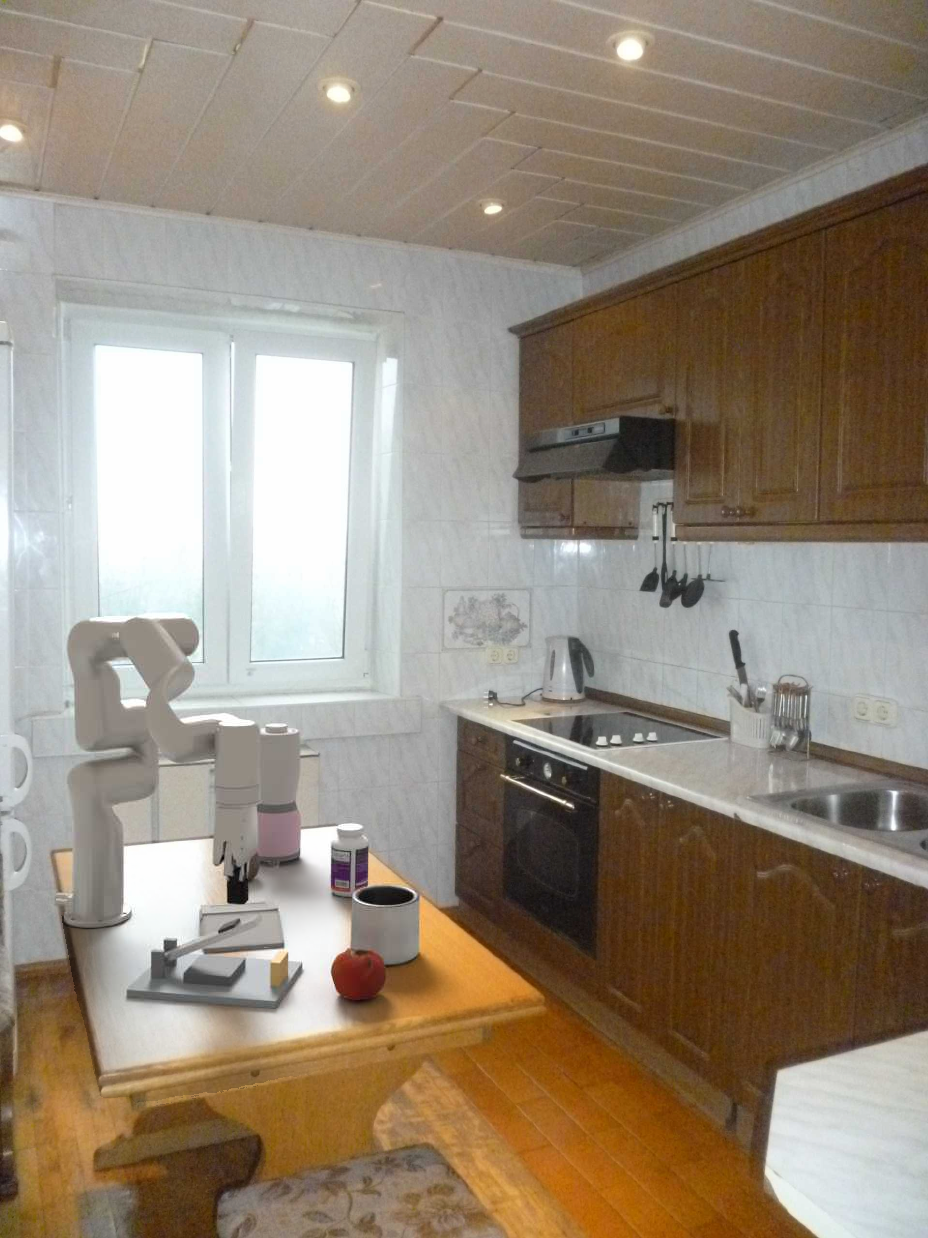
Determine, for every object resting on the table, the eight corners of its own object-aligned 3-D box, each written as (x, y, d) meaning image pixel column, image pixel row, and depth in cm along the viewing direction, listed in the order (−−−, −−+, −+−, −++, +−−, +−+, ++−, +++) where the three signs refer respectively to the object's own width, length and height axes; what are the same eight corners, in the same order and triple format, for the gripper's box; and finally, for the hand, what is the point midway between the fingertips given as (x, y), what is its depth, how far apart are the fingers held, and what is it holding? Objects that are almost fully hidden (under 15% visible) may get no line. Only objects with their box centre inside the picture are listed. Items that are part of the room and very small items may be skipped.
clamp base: (126, 996, 169) (126, 962, 169) (165, 958, 185) (166, 927, 185) (275, 1008, 166) (276, 973, 166) (302, 968, 182) (302, 936, 182)
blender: (280, 870, 237) (282, 732, 234) (236, 862, 242) (238, 726, 239) (317, 852, 251) (320, 722, 249) (275, 845, 256) (277, 717, 254)
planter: (402, 973, 182) (403, 911, 181) (338, 961, 186) (339, 900, 185) (429, 948, 193) (430, 889, 193) (368, 937, 198) (369, 880, 197)
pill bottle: (363, 885, 228) (364, 820, 227) (371, 897, 220) (373, 830, 219) (326, 888, 226) (328, 823, 225) (334, 900, 218) (335, 832, 217)
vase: (266, 879, 231) (266, 840, 230) (244, 887, 225) (244, 847, 224) (243, 873, 234) (244, 835, 234) (221, 880, 228) (221, 841, 228)
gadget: (285, 950, 192) (285, 930, 192) (202, 956, 188) (202, 936, 188) (274, 908, 214) (274, 890, 214) (199, 913, 210) (199, 895, 210)
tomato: (334, 983, 177) (335, 937, 176) (388, 985, 176) (389, 939, 176) (326, 1007, 167) (326, 959, 167) (382, 1009, 167) (383, 961, 167)
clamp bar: (157, 967, 175) (153, 956, 175) (166, 958, 178) (162, 948, 178) (256, 927, 172) (252, 917, 172) (263, 920, 176) (259, 910, 176)
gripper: (231, 784, 181) (231, 887, 182) (199, 804, 166) (199, 916, 167) (272, 786, 180) (272, 889, 181) (244, 806, 165) (244, 919, 166)
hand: (237, 902), depth 174 cm, fingers closed
